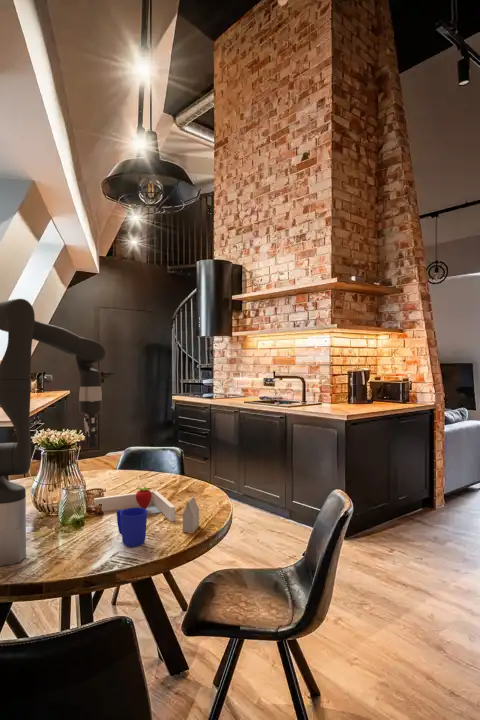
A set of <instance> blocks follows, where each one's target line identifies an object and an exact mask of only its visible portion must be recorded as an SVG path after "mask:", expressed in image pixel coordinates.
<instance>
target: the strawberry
mask: <svg viewBox="0 0 480 720" xmlns="http://www.w3.org/2000/svg"><path fill="white" fill-rule="evenodd" d="M141 485H142V486H143V487H142V488H141V487H139V488H136V490H138V491H137V492H135V493H136V500H137V503H138V504H139V506H138V507H141V508H144V509H146V508H147V506H148V505H149V503H150V501H151V497H152V494H151V492H150V491H151V490H150V489H151V488H148V487H147V486H146V487H145V485H144V484H143V483H141Z"/></svg>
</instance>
